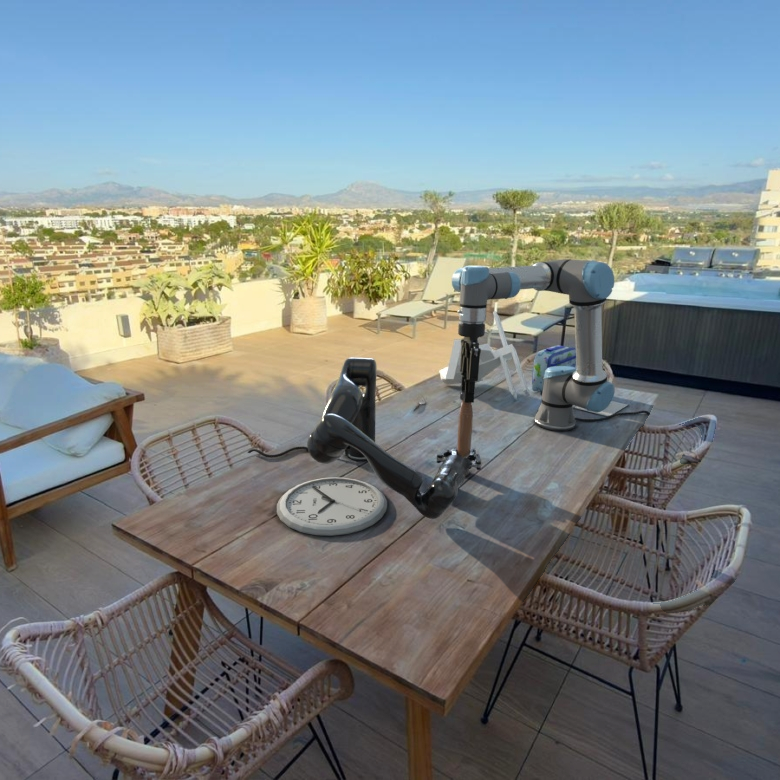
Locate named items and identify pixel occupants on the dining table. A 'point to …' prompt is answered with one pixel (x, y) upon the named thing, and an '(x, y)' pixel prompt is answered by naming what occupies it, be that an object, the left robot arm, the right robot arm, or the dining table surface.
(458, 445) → the ringed wooden cylinder
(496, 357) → the white plastic object
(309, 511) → the wall clock
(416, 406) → the fork
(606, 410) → the invitation card
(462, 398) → the cap
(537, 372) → the lunch box
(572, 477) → the dining table surface
